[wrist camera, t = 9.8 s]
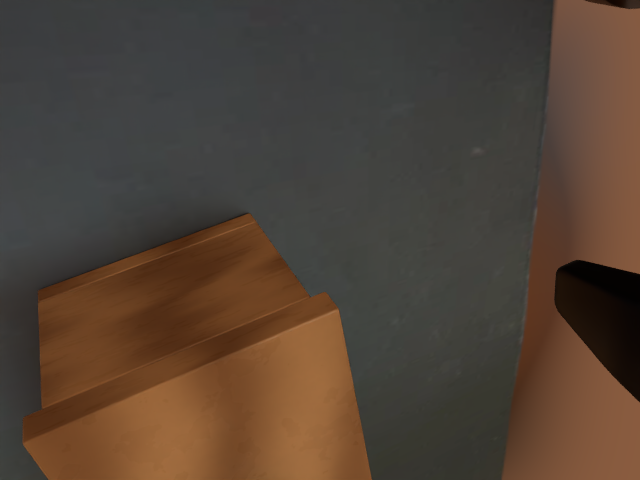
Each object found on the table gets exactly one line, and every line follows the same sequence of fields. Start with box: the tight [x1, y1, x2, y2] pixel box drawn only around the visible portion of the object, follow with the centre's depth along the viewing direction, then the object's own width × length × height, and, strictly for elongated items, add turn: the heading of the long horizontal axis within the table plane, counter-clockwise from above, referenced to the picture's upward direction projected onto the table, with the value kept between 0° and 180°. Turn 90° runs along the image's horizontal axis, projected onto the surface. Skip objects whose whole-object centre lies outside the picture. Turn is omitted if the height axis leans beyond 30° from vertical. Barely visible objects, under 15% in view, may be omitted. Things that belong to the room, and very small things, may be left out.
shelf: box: [23, 213, 372, 480], centre depth 23 cm, size 9×14×7 cm, turn 10°
